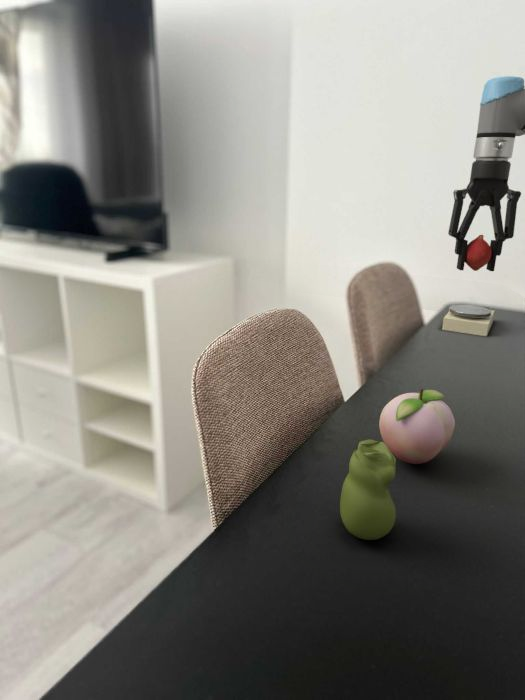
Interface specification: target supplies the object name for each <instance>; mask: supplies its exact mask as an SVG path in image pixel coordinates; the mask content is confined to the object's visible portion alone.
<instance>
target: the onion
mask: <svg viewBox="0 0 525 700" xmlns="http://www.w3.org/2000/svg"><path fill="white" fill-rule="evenodd" d="M491 256H492V251H491V248H490V243H488V242H487V241H486V240H485V239H484V234H479V235H478V236H477V237H476V238H474V239H472V240H471V241H470V242H469V243H467V250H466V257H465V263H464V264H466V265H467V266H468V267H469V268H470V269H471V270H472V271H474V272H476V271H479V270H480V269H482V268H483V267H485V266H487V263H488V262H489V261H490V259H491Z"/></svg>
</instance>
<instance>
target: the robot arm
mask: <svg viewBox="0 0 525 700" xmlns="http://www.w3.org/2000/svg"><path fill="white" fill-rule="evenodd" d="M479 106H480V107H479V114H478V123H477V130H476V138H475V142H474V143H475V144H474V149H473V155H472V157H473V159H475V160H474V161H472V163H471V170H470V177H469V182H468V184H467V186H466V187H464V188H461V189H454V190H453V192H452V193H453V199H454V202H453V207H452V212H451V218H450V222H449V227H448V236H449V237H452V238H453V239H455V245H454V254H455V255H457V257H458V258H457V263H456V269H457V270H458V271H464V269H465V264H466V263H465V257H466V250H467V245H468V244H469V243H468V240H467V239H466V236H467V234H468V232H469V231H470V228H471V225H472V224H473V221H474V219H475V217H476V215H477V212H478V211H480V207H485V206H486V207H489V210H490V214H491V220H492V228H493V234H494V239H490V243H489V246H490V248H491V251H492V256H491V259H490V261H489V262H488V263H487V264H486V270H487V271H489V272H494V271H495V268H496V261H497V257H498V256H499V257H500V256H501V255H502V251H503V246H504V245H503V244H504V242H505V241H506V240H508V239H513V238H514V234H515V227H516V217H517V210H518V209H517V207H518V202H519V200H520V198H521V196H522V192H521V191H520V190H513V189H511V188H510V187H509V184H508V183H509V182H508V181H509V177H510V171H511V165H512V164H511V161H509V160H510V159H511V158H512V157H513V152H514V147H515V141H516V137H521V136H524V135H525V79H524V78H523V77H521V76H513V75H511V76H510V75H509V76H508V75H507V76H497V77H493V78H489V80H487V81H486V82H485V84H484V85H483V90H482V94H481V100H480V103H479ZM467 195H468V196H469V198H470V203H469V205H468V209H467V211H466V213H465V215H464V217H463V219H462V221H461V224H460V220H461V216H462V211H463V205H464V200H465V199H466V198H467ZM505 196H506V200H507V202H506V208H505V217H504V224H503V217H502V210H501V209H502V204H501V201H502V199H503V198H505Z"/></svg>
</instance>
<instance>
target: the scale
mask: <svg viewBox="0 0 525 700" xmlns="http://www.w3.org/2000/svg"><path fill="white" fill-rule="evenodd" d="M460 304H461V303H459V304H458V305H460ZM462 304H463V303H462ZM463 305H465V304H463ZM483 307H484V308H487V309H489V310H491V315H490V316H489V317H483V318H474V317H465V316H460V315H456V314H453V313H451V312H450V311H449V310H448V312H447V313H446V314H445V316H443V320H442V327H441V330H443V331H448V332H455V333H463V334H469V335H475V336H481V337H488V334H489V332H490V329H491V327H492V325H493V323H494V317H495V313H496V311H495V310H494V309H490V307H489V306H488V307H487V306H483Z"/></svg>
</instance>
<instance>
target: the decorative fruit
mask: <svg viewBox="0 0 525 700" xmlns="http://www.w3.org/2000/svg"><path fill="white" fill-rule="evenodd" d="M443 399H446V397H445V395H444V394H443V393H441V392H439V391H438V390H434V389H425V390H424V388H420V389H419V392H406V393H403V394H400V395H397V396H395V397H394V398H393V399H391V400H390V401H388V403H387V404H386V405H385V406H384V407H383V408H382V410H381V413H380V416H379V422H378V423H379V424H378V427H379V432H380V436H381V439H382V442H384V443H385V445H386V446H387V447H388V449H389V450H390V452H391V453H392V455H393V456H394V457H395V458H397V459H398V460H400V461H402V462H404V463H408V464H411V465H421V464H424V463H428V462H429V461H432V460H433V459H434V458H435V457H436V456H437V455H438V454H439V453H440V452H441V451H443V450H444V449H445V448H446V446H447V445H448V444H449V442H450V440H451V438H452V436H453V434H454V431H455V428H456V421H455V417H454V414H453V412H452V410H451V408H450V407H449V406H448V405H447V403H445V402H444V401H443Z"/></svg>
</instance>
